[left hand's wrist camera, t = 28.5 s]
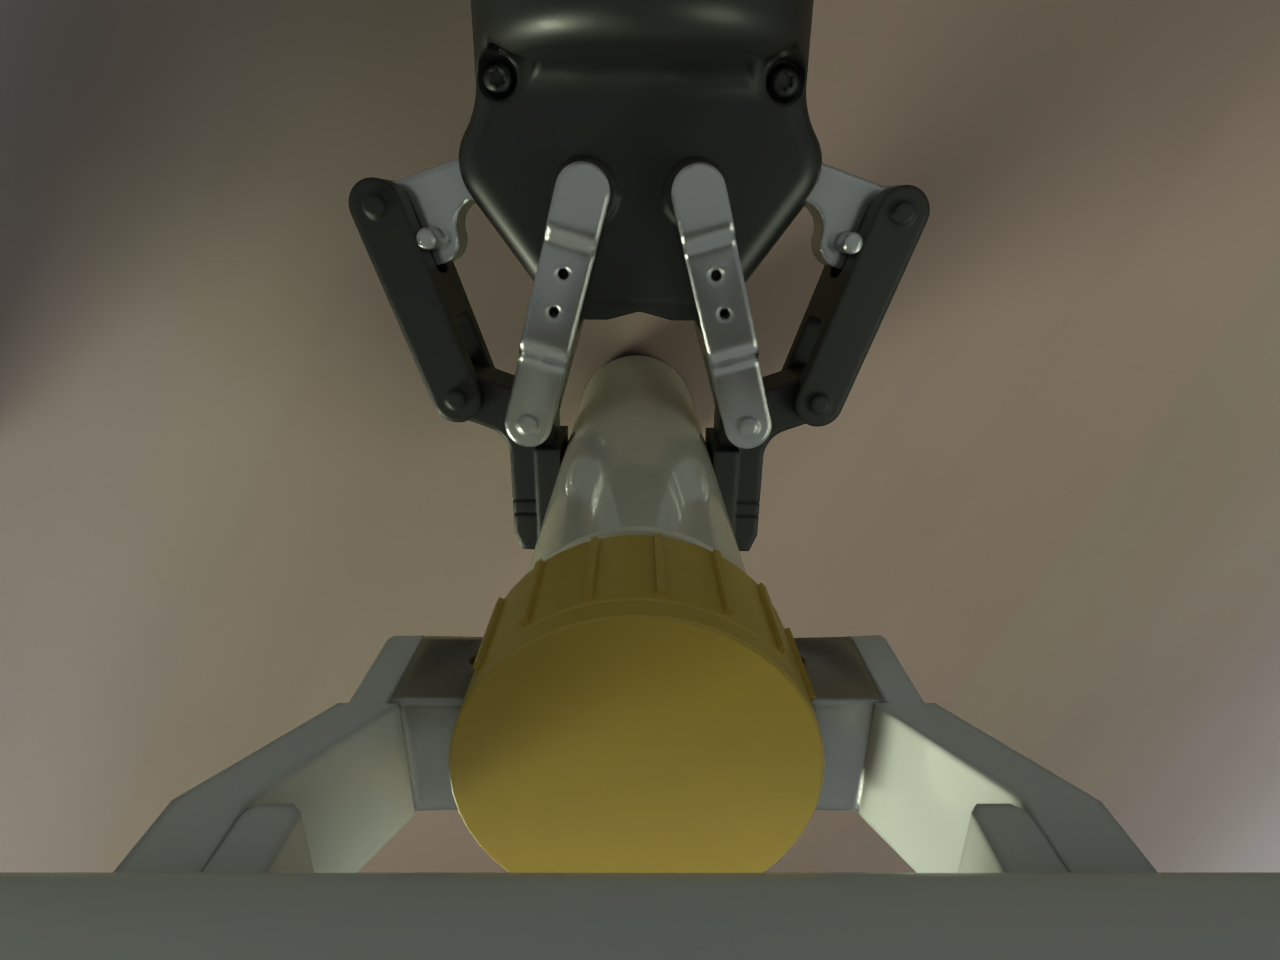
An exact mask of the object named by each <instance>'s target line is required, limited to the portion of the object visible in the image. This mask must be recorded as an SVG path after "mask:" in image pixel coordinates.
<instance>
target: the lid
mask: <svg viewBox="0 0 1280 960" xmlns="http://www.w3.org/2000/svg"><path fill="white" fill-rule="evenodd" d="M472 668H474V669H475V670H474V673H473V676H472V678H471V681H470V684H469V687H468V689H467V692H466V695H465V698H464V700H463V703H462V706H461V709H460V711H459V714H458V717H457V720H456V723H455V726H454V729H453V731H452V736H451V742H450V748H449V777H450V783H451V788H452V793H453V796H454V799H455V802H456V805H457V808H458V811H459V813H460V815H461V817H462V819H463V821H464V823H465V825H466V826H467V828H468V830H469V831H470V833H471V834H472V835H473V837H474V838H475V839H476V841H477V842H478V844H479V845H480V846H481V847H482V848H483V849H484V850H485V851H486V852H487V853H488V854H489V855H490V857H491V858H492V859H493V860H495V861H496V862H497V863H498V864H500V865H501V866H502V867H503V868H504V869H506V870H507V871H508V872H509V873H763V872H764V871H765V870H767V869H768V868H769V867H771V866H772V865H773V864H774V863H775V862H777V861H778V860H779V859H780V858H781V857H782V856H783V855H784V854H785V853H786V852H787V851H788V850H789V849H790V848H791V846H792V845H793V844H794V843H795V841H796V840H797V839H798V838H799V837H800V835H801V834H802V832H803V830H804V829H805V827H806V826H807V824H808V822H809V821H810V819H811V817H812V814H813V812H814V810H815V807H816V805H817V803H818V800H819V796H820V792H821V788H822V784H823V778H824V765H825V757H824V746H823V739H822V735H821V731H820V728H819V724H818V720H817V718H816V715H815V712H814V709H813V707H812V705H811V701H810V699H816V696H815V694H814V691H813V688H812V686H811V683H810V680H809V678H808V675H807V672H806V670H805V667H804V665H803V662H802V659H801V657H800V654H799V651H798V649H797V646H796V643H795V641H794V638H793V636H792V633H791V630H790V628H787V629H784V627H783V625H782V623H781V620H780V618H779V616H778V614H777V611H776V609H775V608H774V606H773V605H772V603H771V600H770V597H769V595H768V592H767V589H766V587H765V586H764V584H763V583H760V584H759V585H757V584H756V582H755V581H754V580H753V579H752V578H750V577H749V576H748V575H747V574H746V573H745V572H743V571H742V570H741V569H740V568H739V567H737V566H736V565H734V564H733V563H731V562H730V561H728V560H727V559H725V558H724V557H722V556H721V552H720V551H718V550H716V549H714V550H713V551H710V550H708V549H705V548H703V547H700V546H697V545H694V544H691V543H689V542H686V541H682V540H677V539H673V538H668V537H663V536H662V534H661V533H654V536H652V535H619V536H613V537H606V538H600V539H599V537H598V536H596V537H591V541H589V542H585V543H582V544H578V545H576V546H574V547H571V548H569V549H566V550H564V551H562V552H559V553H557V554H556V555H554V556H552V557H551V558H549V559H547V560H545V561H543V560H542V559H540V560H538V561H537V562H536V563H535V566H534V569H533V570H531V571H530V572H529V573H527V574H526V575H525V576H524V577H523V578H522V579H521V580H520V581H519V582H518V583H517V584H516V585H515V586H514V587H513V588H512V590H511V591H510V592H509V594H508V595H507V596H506V598H505V599H502V598H501V597H500V598H499V599H498V601H497V602H496V605H495V607H494V610H493V613H492V615H491V618H490V621H489V624H488V626H487V629H486V632H485V634H484V637H483V640H482V642H481V645H480V648H479V650H478V653H477V656H476V659H475V661H474V664H473V667H472Z"/></svg>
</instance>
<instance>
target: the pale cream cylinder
mask: <svg viewBox="0 0 1280 960" xmlns="http://www.w3.org/2000/svg"><path fill="white" fill-rule="evenodd" d="M654 533H661V534H662V536H663V537H668V538H673V539H677V540H682V541H686V542H689V543H691V544H694V545H697V546H700V547H703V548H705V549H708V550H710V551H713V550H714V549H716V550H718V551H720V552H721V556H722V557H724V558H725V559H727V560H728V561H730V562H731V563H733V564H734V565H736V566H737V567H739V568H740V569H741V570H742V571H743V572H745V573H746V570H745V567H744V564H743V561H742V558H741V555H740V551H739V548H738V545H737V542H736V539H735V536H734V532H733V529H732V526H731V523H730V520H729V516H728V513H727V510H726V507H725V504H724V501H723V497H722V494H721V491H720V488H719V485H718V482H717V478H716V475H715V472H714V469H713V466H712V463H711V459H710V456H709V453H708V450H707V447H706V444H705V440H704V437H703V434H702V431H701V428H700V424H699V421H698V418H697V415H696V412H695V409H694V405H693V402H692V399H691V396H690V393H689V390H688V388H687V386H686V384H685V382H684V380H683V379H682V378H681V376H680V375H679V374H678V373H677V372H676V371H675V370H674V369H673V368H672V367H670V366H669V365H667V364H666V363H664V362H662V361H660V360H658V359H655V358H652V357H648V356H640V355H633V356H625V357H622V358H618V359H616V360H613V361H611V362H609V363H607V364H606V365H604V366H603V367H602V368H600V369H599V370H598V371H597V372H596V373H595V374H594V375H593V377H592V378H591V379H590V381H589V383H588V384H587V386H586V388H585V391H584V393H583V397H582V400H581V403H580V406H579V409H578V412H577V416H576V419H575V422H574V425H573V428H572V432H571V435H570V438H569V441H568V444H567V447H566V451H565V454H564V457H563V460H562V463H561V467H560V470H559V473H558V476H557V479H556V482H555V486H554V489H553V492H552V495H551V498H550V502H549V505H548V508H547V511H546V514H545V517H544V521H543V524H542V527H541V530H540V533H539V536H538V540H537V543H536V546H535V549H534V552H533V556H532V559H531V562H530V565H529V568H528V571H527V573H529V572H530V571H531V570H533V569H534V566H535V563H536V562H537V561H538V560H540V559H542V560H543V561H545V560H547V559H549V558H551V557H552V556H554V555H556V554H557V553H559V552H562V551H564V550H566V549H569V548H571V547H574V546H576V545H578V544H582V543H585V542H589V541H591V537H596V536H598V537H599V539H600V538H606V537H613V536H619V535H652V536H654Z"/></svg>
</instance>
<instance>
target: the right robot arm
mask: <svg viewBox="0 0 1280 960" xmlns="http://www.w3.org/2000/svg"><path fill="white" fill-rule="evenodd" d="M471 10H472V25H473V40H474V56H475V72H476V98H475V104H474V109H473V113H472V117H471V120H470V122H469V125H468V127H467V129H466V131H465V133H464V135H463V138H462V141H461V145H460V150H459V159H457V160H454V161H451V162H448V163H446V164H443V165H440V166H437V167H434V168H431V169H429V170H426V171H423V172H420V173H417V174H415V175H412V176H409V177H406V178H403V179H401V180H398V181H391V180H385V179H379V178H365V179H362V180H360V181H359V182H358V183H356V184H355V185H354V187H353V188H352V190H351V192H350V196H349V208H350V212H351V215H352V217H353V219H354V222H355V224H356V226H357V229H358V231H359V233H360V235H361V238H362V240H363V242H364V245H365V247H366V249H367V252H368V254H369V256H370V259H371V261H372V263H373V265H374V268H375V270H376V272H377V275H378V277H379V279H380V282H381V284H382V286H383V289H384V291H385V293H386V296H387V298H388V300H389V302H390V305H391V307H392V309H393V312H394V314H395V316H396V319H397V321H398V323H399V326H400V328H401V330H402V332H403V335H404V337H405V339H406V342H407V344H408V346H409V349H410V351H411V353H412V356H413V358H414V360H415V363H416V365H417V367H418V369H419V372H420V374H421V376H422V379H423V381H424V383H425V386H426V388H427V390H428V393H429V395H430V397H431V399H432V402H433V404H434V406H435V408H436V410H437V411H438V413H439V414H440V415H441V416H442V417H444V418H445V419H447V420H450V421H453V422H464V421H467V420H469V421H472V422H475V423H478V424H481V425H484V426H487V427H489V428H492V429H494V430H495V431H497V432H498V433H499V434H501V435H502V436H503V438H504V439H505V440H506V442H507V444H508V446H509V449H510V457H511V474H512V491H513V508H514V524H515V534H516V536H517V538H518V540H519V542H520V544H521V546H522V548H523V549H535V546H536V543H537V540H538V536H539V533H540V530H541V527H542V524H543V521H544V517H545V514H546V511H547V508H548V505H549V502H550V498H551V495H552V492H553V489H554V486H555V482H556V479H557V476H558V473H559V470H560V467H561V463H562V460H563V457H564V454H565V451H566V447H567V444H568V426H560V408H561V404H562V400H563V396H564V393H565V389H566V385H567V381H568V377H569V373H570V370H571V366H572V362H573V358H574V354H575V351H576V347H577V344H578V341H579V337H580V334H581V330H582V326H583V322H584V319H602V320H607V319H611V318H615V317H619V316H623V315H626V314H630V313H634V312H644V313H648V314H651V315H655V316H658V317H662V318H665V319H669V320H693V321H694V325H695V329H696V333H697V337H698V341H699V345H700V348H701V351H702V355H703V359H704V363H705V367H706V372H707V376H708V380H709V384H710V388H711V392H712V397H713V401H714V405H715V412H714V428H706V437H705V444H706V447H707V450H708V453H709V456H710V459H711V463H712V466H713V469H714V472H715V475H716V478H717V482H718V485H719V488H720V491H721V494H722V497H723V501H724V504H725V507H726V510H727V513H728V516H729V520H730V523H731V526H732V529H733V532H734V536H735V539H736V542H737V545H738V548H739V551H749V549H750V548H751V546H752V544H753V542H754V540H755V538H756V536H757V528H758V514H759V501H760V489H761V476H762V464H763V454H764V450H765V448H766V446H767V444H768V443H769V441H770V440H771V439H772V438H773V437H774V436H775V435H777V434H778V433H780V432H782V431H785V430H788V429H791V428H794V427H797V426H800V425H803V424H808V425H811V426H824V425H827V424H829V423H831V422H832V421H834V420H835V419H836V418H837V417H838V415H839V414H840V412H841V410H842V408H843V406H844V403H845V401H846V399H847V397H848V395H849V392H850V390H851V388H852V386H853V384H854V381H855V379H856V377H857V375H858V373H859V370H860V368H861V366H862V364H863V362H864V359H865V357H866V355H867V353H868V350H869V348H870V346H871V344H872V342H873V339H874V337H875V335H876V333H877V331H878V328H879V326H880V324H881V322H882V320H883V317H884V315H885V313H886V311H887V309H888V306H889V304H890V302H891V300H892V298H893V295H894V293H895V291H896V289H897V287H898V284H899V282H900V280H901V278H902V276H903V273H904V271H905V269H906V267H907V264H908V262H909V260H910V258H911V256H912V253H913V251H914V249H915V247H916V245H917V242H918V240H919V238H920V236H921V234H922V231H923V229H924V227H925V225H926V223H927V220H928V217H929V209H930V208H929V202H928V199H927V197H926V195H925V194H924V192H923V191H921V190H920V189H919V188H917V187H915V186H911V185H902V186H899V185H893V186H886V187H885V186H881V185H878V184H876V183H873V182H870V181H868V180H865V179H863V178H860V177H857V176H855V175H852V174H849V173H847V172H844V171H842V170H839V169H836V168H834V167H831V166H829V165H826V164H823V163H822V155H821V149H820V145H819V142H818V139H817V137H816V135H815V133H814V130H813V128H812V125H811V122H810V119H809V115H808V109H807V102H806V82H807V71H808V58H809V46H810V35H811V23H812V11H813V0H471ZM474 203H477V205H478V206H479V207H480V209H481V210H482V211H483V213H484V214H485V215H486V217H487V218H488V219H489V221H490V222H491V223H492V225H493V226H494V228H495V229H496V230H497V232H498V233H499V234H500V236H501V237H502V238H503V240H504V241H505V242H506V244H507V245H508V247H509V248H510V249H511V251H512V252H513V253H514V255H515V256H516V257H517V259H518V260H519V261H520V263H521V264H522V266H523V267H524V268H525V270H526V271H527V272H528V274H529V275H530V276H531V278H532V279H533V280H534V285H533V290H532V294H531V298H530V303H529V307H528V311H527V316H526V320H525V324H524V329H523V333H522V337H521V342H520V348H519V353H520V355H519V361H518V365H517V370H516V374H515V375H512V374H509V373H506V372H504V371H501V370H498V369H495V367H494V364H493V362H492V359H491V357H490V354H489V352H488V349H487V347H486V344H485V341H484V339H483V336H482V334H481V331H480V329H479V326H478V324H477V321H476V319H475V316H474V313H473V311H472V308H471V306H470V303H469V301H468V298H467V296H466V293H465V291H464V288H463V285H462V283H461V280H460V278H459V275H458V273H457V270H456V268H455V265H454V262H453V261H455V260H457V259H458V258H460V257H461V256H462V255H463V253H464V252H465V250H466V247H467V233H466V228H465V218H466V214H467V212H468V210H469V209H470V207H471V206H472V205H473V204H474ZM804 206H805V207H806V208H807V209H808V210H809V212H810V213H811V215H812V217H813V221H814V233H813V237H812V242H811V246H812V251H813V254H814V256H815V257H816V259H817V260H818V261H819V262H821V263H822V264H824V265H825V267H824V269H823V271H822V274H821V276H820V279H819V281H818V284H817V286H816V288H815V291H814V293H813V296H812V298H811V301H810V303H809V305H808V308H807V310H806V313H805V315H804V317H803V320H802V322H801V325H800V327H799V330H798V332H797V334H796V337H795V339H794V342H793V344H792V347H791V349H790V351H789V354H788V356H787V359H786V361H785V364H784V366H783V368H782V371H780V372H777V373H774V374H771V375H768V376H765V377H762V375H761V370H760V366H759V360H758V354H759V352H758V344H757V339H756V334H755V329H754V324H753V320H752V315H751V310H750V305H749V301H748V296H747V291H746V286H745V282H746V281H747V280H748V279H749V277H750V276H751V275H752V273H753V272H754V271H755V269H756V268H757V267H758V265H759V264H760V263H761V262H762V260H763V259H764V258H765V256H766V255H767V254H768V252H769V251H770V250H771V249H772V247H773V246H774V245H775V243H776V242H777V241H778V239H779V238H780V237H781V235H782V234H783V233H784V232H785V230H786V229H787V228H788V226H789V225H790V224H791V222H792V221H793V220H794V218H795V217H796V216H797V215H798V213H799V212H800V211H801V209H802V208H803V207H804Z"/></svg>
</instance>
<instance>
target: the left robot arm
mask: <svg viewBox="0 0 1280 960" xmlns="http://www.w3.org/2000/svg"><path fill="white" fill-rule="evenodd" d="M482 640H483V637H452V636H427V637H425V636H393V637H391V638H389V639H388V640H387V641H386V643H385V645H384V646H383V648H382V649H381V651H380V653H379V654H378V656H377V658H376V659H375V661H374V663H373V664H372V666H371V667H370V669H369V671H368V672H367V674H366V676H365V677H364V679H363V680H362V682H361V684H360V685H359V687H358V689H357V690H356V692H355V694H354V695H353V697H352V698H351V700H350V702H349V703H338V704H336V705H334V706H333V707H331V708H329V709H328V710H326V711H324V712H322V713H321V714H319V715H317V716H316V717H314V718H312V719H311V720H309V721H307V722H305V723H304V724H302V725H300V726H299V727H297V728H295V729H293V730H292V731H290V732H288V733H287V734H285V735H283V736H281V737H280V738H278V739H276V740H275V741H273V742H271V743H269V744H268V745H266V746H264V747H263V748H261V749H259V750H257V751H256V752H254V753H252V754H251V755H249V756H247V757H245V758H244V759H242V760H240V761H239V762H237V763H235V764H233V765H232V766H230V767H228V768H227V769H225V770H223V771H222V772H220V773H218V774H216V775H215V776H213V777H211V778H210V779H208V780H206V781H204V782H203V783H201V784H199V785H198V786H196V787H194V788H192V789H191V790H189V791H187V792H186V793H184V794H182V795H180V796H179V797H177V798H175V799H174V800H172V801H171V802H170V803H169V805H168V806H167V807H166V808H165V810H164V811H163V812H162V813H161V814H160V816H159V817H158V818H157V819H156V821H155V822H154V823H153V824H152V825H151V827H150V828H149V829H148V830H147V832H146V833H145V834H144V835H143V836H142V838H141V839H140V840H139V841H138V843H137V844H136V845H135V846H134V847H133V849H132V850H131V851H130V852H129V854H128V855H127V856H126V857H125V858H124V860H123V861H122V862H121V863H120V865H119V866H118V867H117V868H116V870H115V871H114V872H113V873H0V960H1280V873H1157V871H1156V870H1155V869H1154V868H1153V866H1152V865H1151V864H1150V863H1149V861H1148V860H1147V859H1146V858H1145V856H1144V855H1143V854H1142V852H1141V851H1140V850H1139V849H1138V847H1137V846H1136V845H1135V844H1134V842H1133V841H1132V840H1131V839H1130V837H1129V836H1128V835H1127V834H1126V832H1125V831H1124V830H1123V829H1122V827H1121V826H1120V825H1119V824H1118V822H1117V821H1116V820H1115V819H1114V817H1113V816H1112V815H1111V814H1110V812H1109V811H1108V810H1107V809H1106V807H1105V806H1104V805H1103V804H1102V802H1101V801H1099V800H1097V799H1096V798H1094V797H1092V796H1091V795H1089V794H1087V793H1086V792H1084V791H1082V790H1081V789H1079V788H1077V787H1075V786H1074V785H1072V784H1070V783H1069V782H1067V781H1065V780H1064V779H1062V778H1060V777H1059V776H1057V775H1055V774H1053V773H1052V772H1050V771H1048V770H1047V769H1045V768H1043V767H1042V766H1040V765H1038V764H1037V763H1035V762H1033V761H1032V760H1030V759H1028V758H1026V757H1025V756H1023V755H1021V754H1020V753H1018V752H1016V751H1015V750H1013V749H1011V748H1010V747H1008V746H1006V745H1004V744H1003V743H1001V742H999V741H998V740H996V739H994V738H993V737H991V736H989V735H988V734H986V733H984V732H983V731H981V730H979V729H977V728H976V727H974V726H972V725H971V724H969V723H967V722H966V721H964V720H962V719H961V718H959V717H957V716H956V715H954V714H952V713H950V712H949V711H947V710H945V709H944V708H942V707H940V706H939V705H937V704H935V703H924V701H923V700H922V698H921V696H920V695H919V693H918V692H917V690H916V688H915V687H914V685H913V683H912V682H911V680H910V678H909V677H908V675H907V673H906V672H905V670H904V668H903V667H902V665H901V663H900V662H899V660H898V659H897V657H896V655H895V654H894V652H893V650H892V649H891V647H890V645H889V644H888V642H887V640H886V639H885V638H884V637H882V636H880V635H876V636H848V637H822V638H794V641H795V643H796V646H797V649H798V651H799V654H800V657H801V659H802V662H803V665H804V667H805V670H806V672H807V675H808V678H809V680H810V683H811V686H812V688H813V691H814V694H815V696H816V699H810V701H811V705H812V707H813V709H814V712H815V715H816V718H817V720H818V724H819V728H820V731H821V735H822V739H823V746H824V757H825V765H824V778H823V784H822V788H821V792H820V796H819V800H818V803H817V805H816V807H815V810H849V811H859V813H858V814H859V815H860V816H861V817H862V818H863V819H864V820H865V821H866V822H867V823H868V824H869V825H870V826H871V827H872V828H873V829H874V830H875V831H876V832H877V833H878V834H879V835H880V836H881V837H882V838H883V839H884V840H885V841H886V842H887V843H888V844H889V845H890V846H891V847H892V848H893V849H894V850H895V851H896V852H897V853H898V854H899V855H900V856H901V857H902V858H903V859H904V860H905V861H906V862H907V863H908V864H909V865H910V866H911V867H912V868H913V869H914V870H915V871H916V872H917V873H357V872H358V871H359V870H360V869H361V868H362V867H363V866H364V865H365V864H366V863H367V862H368V861H369V860H370V859H371V858H372V857H373V856H374V855H375V854H376V853H377V852H378V851H379V850H380V849H381V848H382V847H383V846H384V845H385V844H386V843H387V842H388V841H389V840H390V839H391V838H392V837H393V836H394V835H395V834H396V833H397V832H398V831H399V830H400V829H401V828H402V827H403V826H404V825H405V824H406V823H407V822H408V821H409V820H410V819H411V818H412V817H413V816H414V815H415V811H425V810H458V808H457V805H456V802H455V799H454V796H453V793H452V788H451V783H450V777H449V748H450V742H451V736H452V731H453V729H454V726H455V723H456V720H457V717H458V714H459V711H460V709H461V706H462V703H463V700H464V698H465V695H466V692H467V689H468V687H469V684H470V681H471V678H472V676H473V673H474V670H475V669H474V668H472V667H473V664H474V661H475V659H476V656H477V653H478V650H479V648H480V645H481V642H482Z"/></svg>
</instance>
